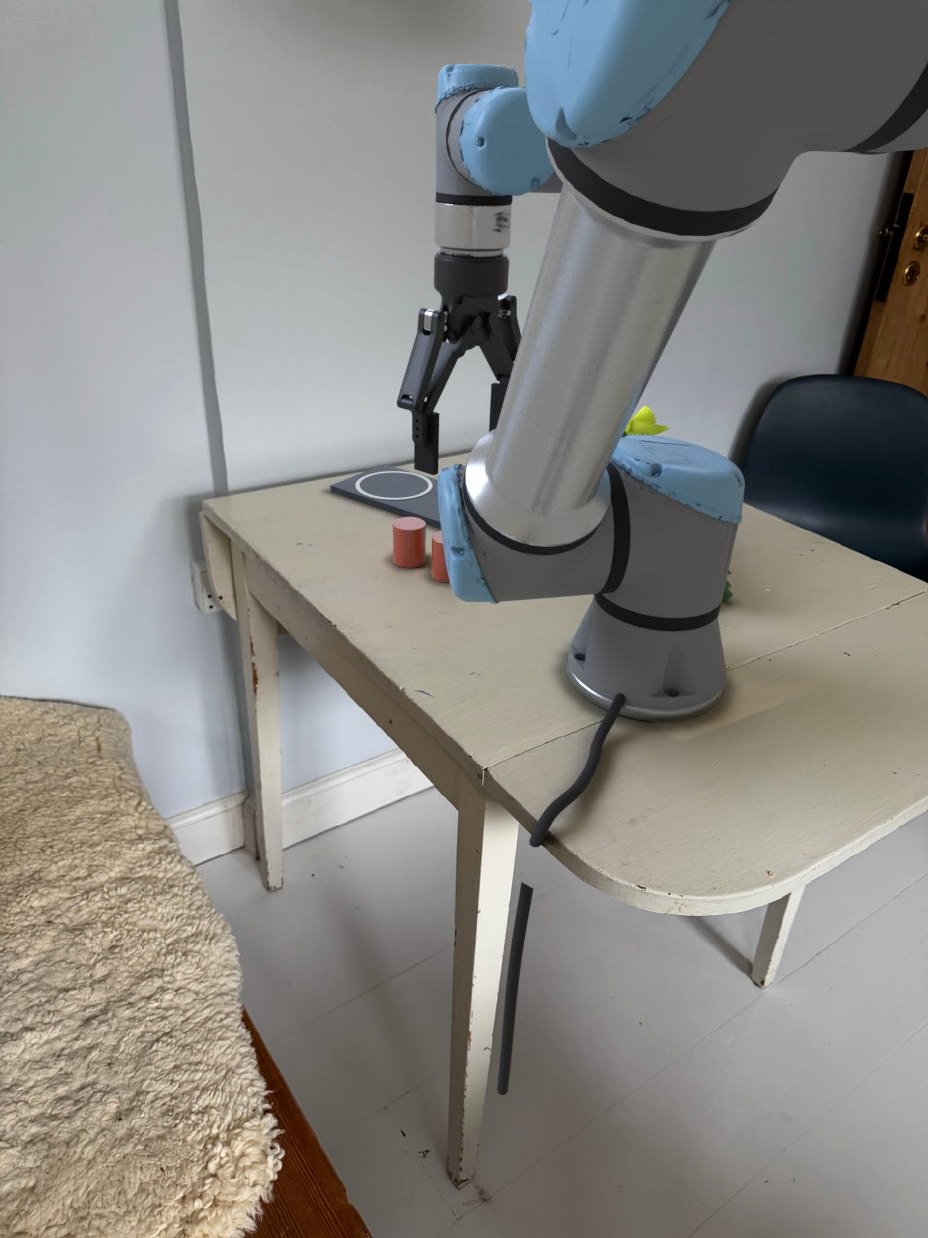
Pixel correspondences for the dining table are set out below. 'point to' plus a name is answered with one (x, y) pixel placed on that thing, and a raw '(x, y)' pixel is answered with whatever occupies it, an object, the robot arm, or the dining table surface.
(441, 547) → the short coral cylinder
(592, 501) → the robot arm
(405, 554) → the red cylinder block
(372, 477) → the slate board
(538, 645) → the dining table surface
